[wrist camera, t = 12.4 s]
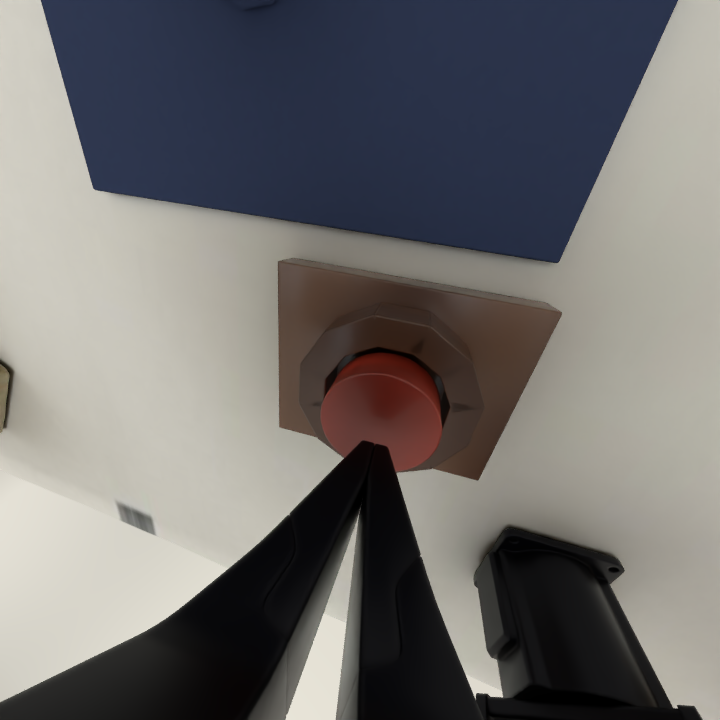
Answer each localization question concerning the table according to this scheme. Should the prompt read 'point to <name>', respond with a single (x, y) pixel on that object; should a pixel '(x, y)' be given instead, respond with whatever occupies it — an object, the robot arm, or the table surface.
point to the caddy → (3, 393)
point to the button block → (409, 349)
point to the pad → (360, 109)
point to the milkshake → (252, 3)
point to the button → (384, 408)
